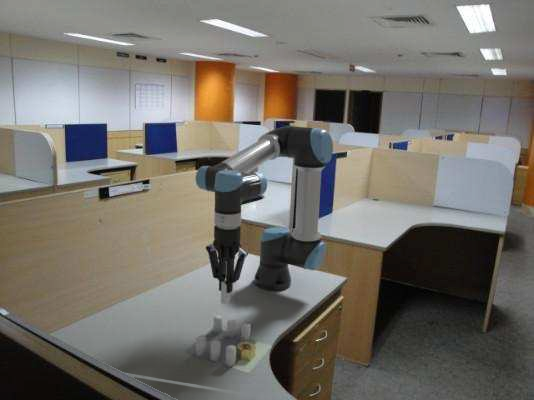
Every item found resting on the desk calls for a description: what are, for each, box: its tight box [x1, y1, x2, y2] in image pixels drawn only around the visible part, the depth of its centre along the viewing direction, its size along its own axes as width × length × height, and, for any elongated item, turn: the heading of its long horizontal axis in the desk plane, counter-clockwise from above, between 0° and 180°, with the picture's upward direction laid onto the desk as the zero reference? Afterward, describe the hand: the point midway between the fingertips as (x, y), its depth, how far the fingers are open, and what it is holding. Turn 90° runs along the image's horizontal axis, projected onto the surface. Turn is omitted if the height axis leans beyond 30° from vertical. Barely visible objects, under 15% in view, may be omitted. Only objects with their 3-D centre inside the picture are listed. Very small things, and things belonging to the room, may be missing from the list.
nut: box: [236, 342, 256, 361], centre depth 130 cm, size 6×5×3 cm
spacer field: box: [184, 315, 273, 374], centre depth 133 cm, size 16×21×6 cm
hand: (225, 301), depth 132 cm, fingers closed
